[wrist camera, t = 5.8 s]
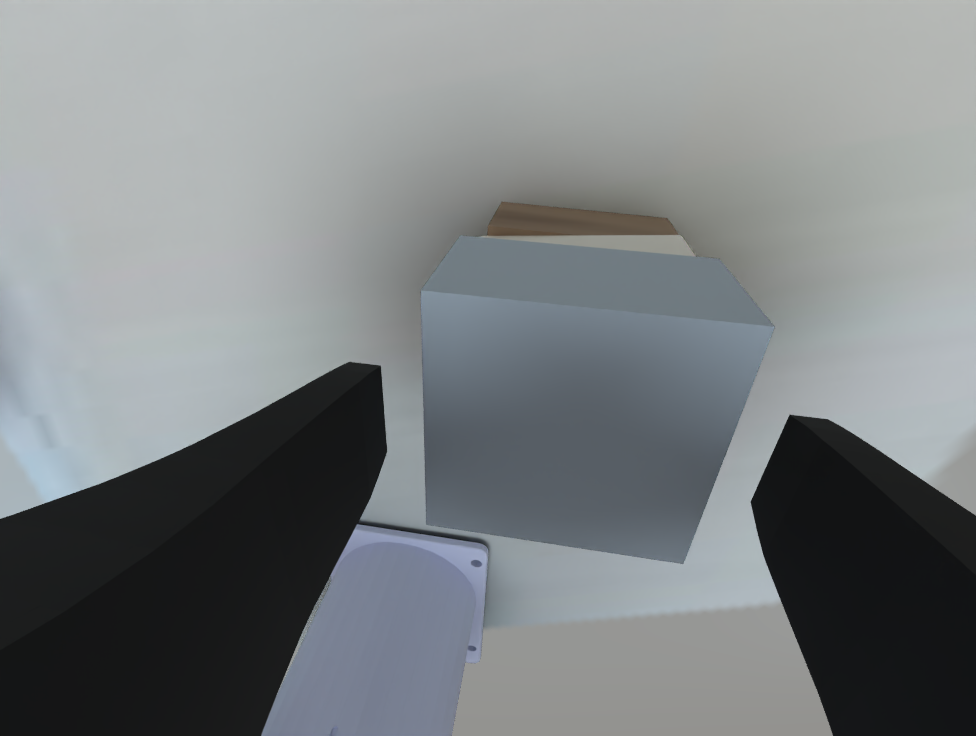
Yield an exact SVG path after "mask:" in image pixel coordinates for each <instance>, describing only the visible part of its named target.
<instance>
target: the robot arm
mask: <svg viewBox="0 0 976 736" xmlns="http://www.w3.org/2000/svg"><path fill="white" fill-rule="evenodd" d="M386 453H387V444H386V431H385V417H384V404H383V390H382V377H381V366H378V365H370V364H361V363H353V362H348V363H346V364H344V365H342V366H340V367H338V368H336V369H334V370H332V371H330V372H328V373H326V374H324V375H323V376H321V377H319V378H317V379H315V380H314V381H312V382H310V383H308V384H306V385H305V386H303V387H301V388H299V389H298V390H296V391H294V392H292V393H290V394H289V395H287V396H285V397H283V398H281V399H279V400H278V401H276V402H274V403H272V404H270V405H269V406H267V407H265V408H263V409H261V410H260V411H258V412H256V413H254V414H252V415H250V416H248V417H246V418H244V419H242V420H240V421H238V422H236V423H234V424H232V425H230V426H228V427H226V428H224V429H222V430H220V431H218V432H216V433H214V434H212V435H211V436H209V437H207V438H205V439H203V440H201V441H199V442H197V443H195V444H192V445H190V446H188V447H186V448H184V449H182V450H180V451H177V452H175V453H173V454H171V455H168V456H166V457H164V458H162V459H159V460H157V461H155V462H152V463H150V464H148V465H145V466H143V467H140V468H138V469H135V470H133V471H131V472H128V473H126V474H123V475H121V476H119V477H116V478H114V479H111V480H108V481H106V482H103V483H101V484H98V485H95V486H93V487H90V488H87V489H84V490H81V491H79V492H76V493H73V494H70V495H67V496H64V497H62V498H59V499H56V500H53V501H50V502H48V503H45V504H42V505H39V506H36V507H34V508H31V509H28V510H25V511H23V512H20V513H17V514H14V515H11V516H8V517H5V518H2V519H0V736H452V731H453V725H454V719H455V714H456V709H457V704H458V699H459V693H460V688H461V682H462V677H463V671H464V666H465V662H467V663H477V662H479V661H480V657H481V648H482V634H483V621H484V607H485V594H486V580H487V566H488V553H489V552H488V549H487V547H486V546H484V545H483V544H480V543H476V542H469V541H463V540H456V539H450V538H443V537H437V536H430V535H424V534H417V533H411V532H404V531H398V530H391V529H385V528H379V527H372V526H366V525H359V524H357V523H358V521H359V519H360V517H361V516H362V514H363V512H364V510H365V508H366V506H367V504H368V502H369V500H370V498H371V495H372V492H373V490H374V487H375V484H376V482H377V479H378V476H379V473H380V470H381V468H382V465H383V462H384V459H385V456H386ZM751 505H752V510H753V514H754V519H755V523H756V528H757V532H758V536H759V540H760V544H761V547H762V551H763V555H764V558H765V561H766V563H767V566H768V569H769V571H770V574H771V576H772V579H773V582H774V584H775V587H776V589H777V592H778V594H779V597H780V599H781V602H782V604H783V607H784V609H785V612H786V614H787V617H788V619H789V622H790V624H791V627H792V629H793V632H794V634H795V637H796V639H797V642H798V644H799V646H800V649H801V652H802V654H803V656H804V659H805V661H806V664H807V667H808V669H809V671H810V674H811V677H812V679H813V681H814V684H815V686H816V689H817V691H818V694H819V697H820V699H821V702H822V705H823V708H824V711H825V713H826V716H827V719H828V722H829V725H830V727H831V731H832V733H833V736H976V516H975V515H974V514H972V513H971V512H969V511H968V510H966V509H965V508H963V507H962V506H960V505H959V504H957V503H956V502H954V501H953V500H951V499H950V498H948V497H947V496H945V495H944V494H942V493H941V492H939V491H938V490H936V489H935V488H933V487H932V486H930V485H929V484H928V483H926V482H925V481H923V480H922V479H920V478H919V477H917V476H916V475H914V474H913V473H911V472H910V471H908V470H907V469H905V468H904V467H902V466H901V465H899V464H898V463H897V462H895V461H894V460H892V459H891V458H889V457H888V456H886V455H885V454H883V453H882V452H880V451H879V450H877V449H876V448H874V447H873V446H871V445H870V444H868V443H866V442H865V441H863V440H862V439H860V438H859V437H857V436H856V435H854V434H852V433H851V432H849V431H848V430H846V429H844V428H843V427H841V426H839V425H837V424H835V423H834V422H832V421H830V420H828V419H820V418H812V417H804V416H795V415H789V417H788V420H787V422H786V424H785V426H784V429H783V431H782V433H781V435H780V438H779V440H778V442H777V444H776V446H775V449H774V451H773V453H772V455H771V458H770V460H769V462H768V464H767V467H766V469H765V471H764V473H763V475H762V478H761V480H760V482H759V484H758V487H757V489H756V491H755V493H754V496H753V498H752V500H751ZM329 577H331V583H330V585H329V588H328V590H327V592H326V594H325V596H324V598H323V600H322V602H321V604H320V606H319V608H318V610H317V612H316V615H315V617H314V619H313V621H312V623H311V625H310V627H309V629H308V631H307V633H306V635H305V637H304V639H303V642H302V644H301V646H300V648H299V650H298V652H297V654H296V656H295V658H294V660H293V662H292V664H291V667H290V669H289V671H288V673H287V675H286V677H285V679H284V681H283V683H282V680H283V678H284V676H285V673H286V671H287V668H288V666H289V663H290V661H291V658H292V656H293V653H294V651H295V648H296V646H297V644H298V641H299V639H300V636H301V634H302V632H303V629H304V627H305V625H306V623H307V621H308V619H309V617H310V615H311V612H312V610H313V608H314V606H315V604H316V602H317V600H318V598H319V596H320V595H321V593H322V591H323V589H324V587H325V585H326V583H327V581H328V579H329ZM281 683H282V685H281ZM280 685H281V688H280ZM279 688H280V689H279ZM278 690H279V691H278ZM277 693H278V694H277ZM276 695H277V696H276Z"/></svg>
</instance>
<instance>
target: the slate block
mask: <svg viewBox="0 0 976 736" xmlns="http://www.w3.org/2000/svg"><path fill="white" fill-rule="evenodd" d="M421 324H422V365H423V406H424V447H425V488H426V525H432V526H438V527H445V528H451V529H458V530H464V531H471V532H477V533H484V534H490V535H497V536H503V537H510V538H517V539H523V540H530V541H536V542H543V543H549V544H556V545H562V546H569V547H575V548H582V549H589V550H595V551H602V552H608V553H615V554H621V555H628V556H634V557H641V558H647V559H654V560H660V561H667V562H674V563H680V564H683V563H684V561H685V558H686V556H687V553H688V550H689V548H690V545H691V543H692V540H693V538H694V535H695V532H696V530H697V527H698V525H699V522H700V519H701V517H702V514H703V512H704V509H705V506H706V504H707V501H708V499H709V496H710V494H711V491H712V488H713V486H714V483H715V481H716V478H717V475H718V473H719V470H720V468H721V465H722V462H723V460H724V457H725V455H726V452H727V450H728V447H729V444H730V442H731V439H732V437H733V434H734V431H735V429H736V426H737V424H738V421H739V418H740V416H741V413H742V411H743V408H744V405H745V403H746V400H747V398H748V395H749V393H750V390H751V387H752V385H753V382H754V380H755V377H756V374H757V372H758V369H759V367H760V364H761V361H762V359H763V356H764V354H765V351H766V349H767V346H768V343H769V341H770V338H771V336H772V333H773V330H774V328H775V326H774V325H773V324H772V323H771V321H770V320H769V319H768V318H767V317H766V315H765V314H764V313H763V312H762V310H761V309H760V308H759V307H758V305H757V304H756V303H755V302H754V301H753V299H752V298H751V297H750V296H749V294H748V293H747V292H746V291H745V290H744V288H743V287H742V286H741V285H740V283H739V282H738V281H737V280H736V279H735V277H734V276H733V275H732V274H731V272H730V271H729V270H728V269H727V267H726V266H725V265H724V264H723V263H722V261H721V260H720V259H717V258H706V257H695V256H684V255H673V254H661V253H650V252H639V251H628V250H617V249H606V248H595V247H584V246H573V245H562V244H550V243H539V242H528V241H517V240H506V239H495V238H484V237H473V236H462V235H460V237H459V238H458V239H457V241H456V242H455V244H454V245H453V246H452V248H451V249H450V250H449V252H448V253H447V255H446V256H445V257H444V259H443V260H442V262H441V263H440V264H439V266H438V267H437V268H436V270H435V271H434V273H433V274H432V275H431V277H430V278H429V280H428V281H427V282H426V284H425V285H424V287H423V288H422V289H421Z"/></svg>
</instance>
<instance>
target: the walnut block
mask: <svg viewBox="0 0 976 736" xmlns="http://www.w3.org/2000/svg"><path fill="white" fill-rule="evenodd" d="M558 235H679V234H678V233H677V232H676V230H675V229H674V227H673V226H672V224H671V223H670V221H669V220H668V219H667V218H659V217H649V216H639V215H629V214H619V213H609V212H599V211H589V210H579V209H569V208H559V207H549V206H539V205H529V204H519V203H509V202H501V204H500V206H499V208H498V209H497V211H496V213H495V215H494V216H493V218H492V220H491V221H490V223H489V225H488V234H487V236H558Z"/></svg>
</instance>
